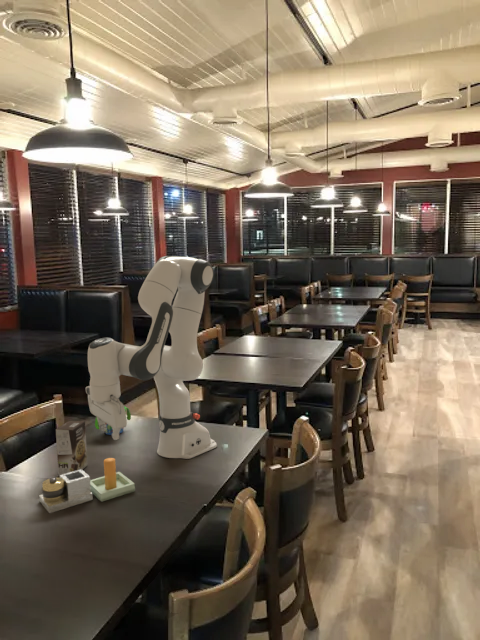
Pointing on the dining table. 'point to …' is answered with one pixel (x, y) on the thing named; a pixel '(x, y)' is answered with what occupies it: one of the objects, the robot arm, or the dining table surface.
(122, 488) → the tray
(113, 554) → the dining table surface
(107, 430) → the snack cup
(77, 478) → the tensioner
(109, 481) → the pin
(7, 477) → the dining table surface
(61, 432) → the coffee box
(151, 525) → the dining table surface
